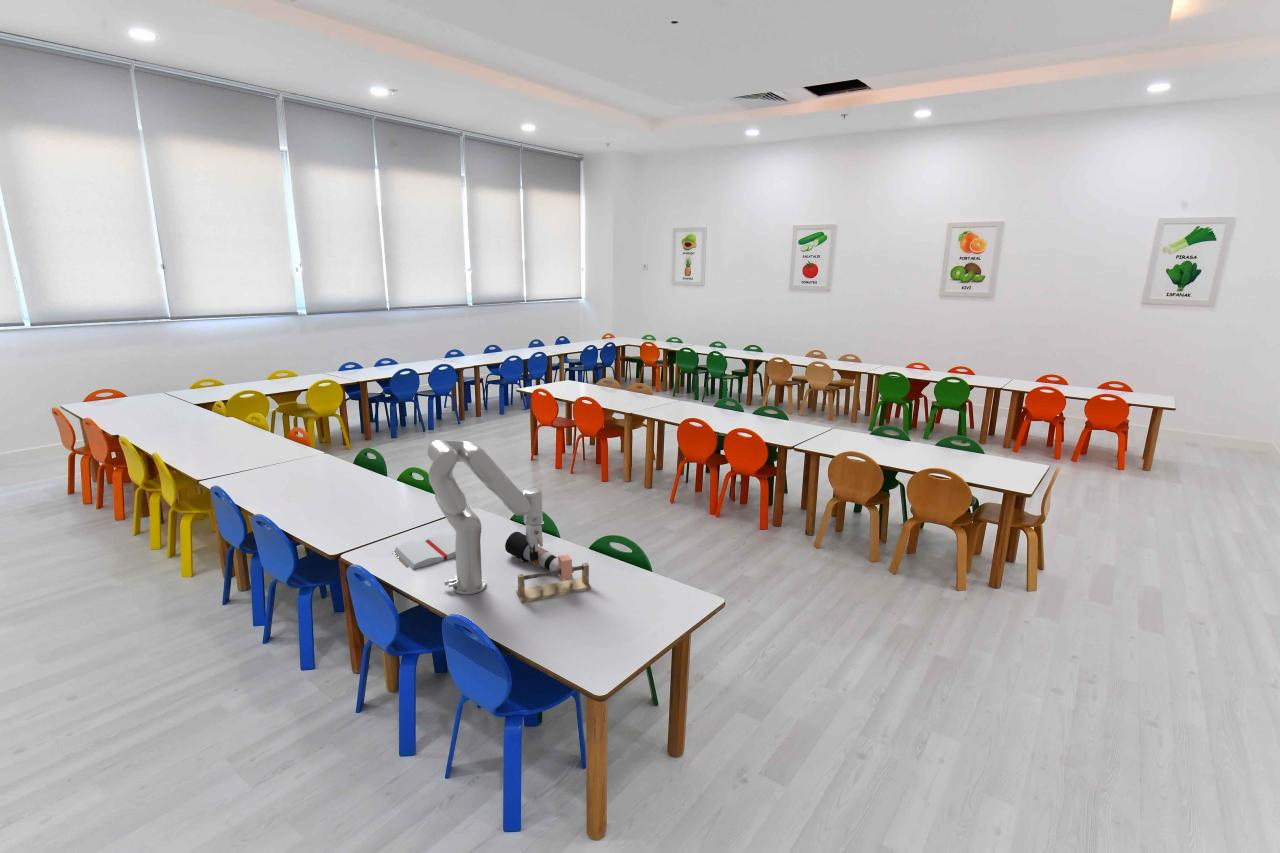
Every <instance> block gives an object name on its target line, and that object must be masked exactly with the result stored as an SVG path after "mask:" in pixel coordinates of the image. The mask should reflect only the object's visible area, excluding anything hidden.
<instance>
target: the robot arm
mask: <svg viewBox="0 0 1280 853" xmlns="http://www.w3.org/2000/svg"><path fill="white" fill-rule="evenodd" d="M427 456H428V457H429V459H430V460H431V462H432V463H431V465H430V467H429V471H428V482H429V484H430V487H431V488H432V490H433V493H434V499H435V501H436V504H437V506H438V507H439V509H440V510H441V512H442V513H443V515H444V517H445V519H446V520H447V522H448V524H450V526H451V527H452V528H453V530H454V531H455V536H456V540H455V553H456V557H455V569H456V571H455V575H454V578H451V579H446V580H443V582H444V586H448V588H453V592H455V593H456V594H459V595H474V594H477V593H480V592H482V591H483V590H484V589H486V586H487V581H486V580H485V579H483V578H482V577H483V576H482V554H481V553H482V550H481V537H482V536H481V535H482V522H481V519H480V518H479V516H478V515H477V514H476V513H475V512H474V511H473V510H472V509H471V508H470V507H469V505H468V502H467V498H466V496H465V493H464V492H463V491H462V489H461V488H460V486H459V484H458V483H457V481H456V479H455V478H454V475H453V472H454V469H455V467H456V464H457V463H459V462H460V463H463V464H465V465H466V467H467V468H469V470H470V472H472V473H473V474H474V475H475V476H476V477H477V478H478V479H479V480H480V481H481V483H482V484H483V486H485V487H486V488H487V489H488V490H489V491H490V492H492V493H493V494H494V495H495V496H497V497H498V498H499V499H500V500H501V501H502V503H503V505H504V506H505V508H507V509H508V510H510V511H511V512H512V513H513V514H514V516H515V515H516V516H518V517H523V523H524V525H525V535H526V539H527V542H528V543H529V549H530V550H531V551H529V552H530V561H529V562H531V561H535V560H538V546H539V547H541V548H543V546H544V543H543V542H544V541H543V540H544V539H543V529H542V524H543V493H542V490H541V489H539V488H528V489H519V488H518V487H517V486H516V485H515V484H514V483H513V481H512V480H511V479H510V478H509V477H508V475H507V474H506V473H505V472H504V471H503V470H502V469H501V467H499V465H497V463H496V462H495V461H494V460H493V459H492V458H491V456H490V455H489V454H488V453H487V451H485V450H484V449H483V448H482V447H481V446H480V445H478V444H477V443H475V442H474V441H468V440H452V439H451V440H450V439H437V440H434V441H432V442H431V443H430V444H428V447H427Z"/></svg>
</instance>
